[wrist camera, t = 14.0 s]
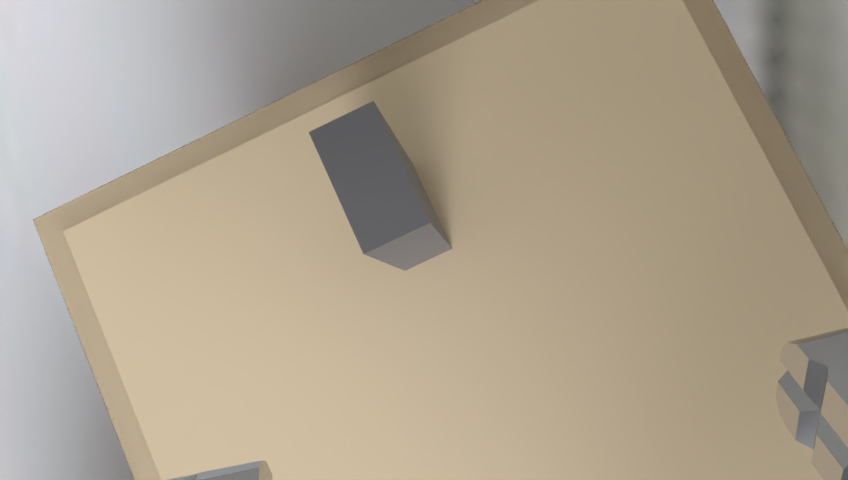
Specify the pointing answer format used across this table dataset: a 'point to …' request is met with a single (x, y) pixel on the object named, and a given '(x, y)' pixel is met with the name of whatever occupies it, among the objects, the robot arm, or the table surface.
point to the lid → (468, 264)
